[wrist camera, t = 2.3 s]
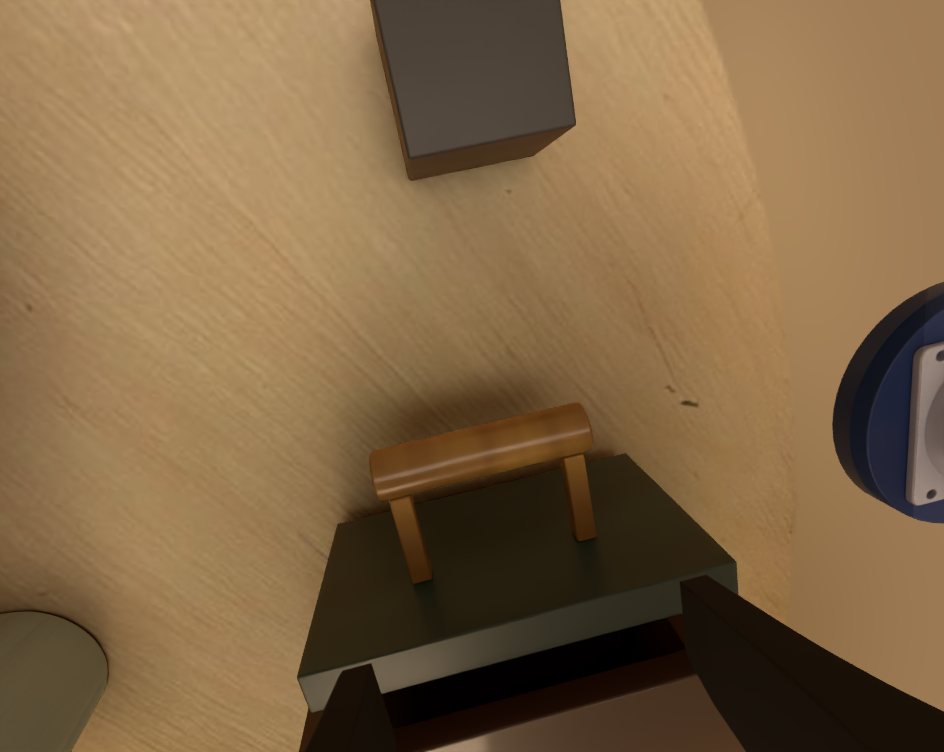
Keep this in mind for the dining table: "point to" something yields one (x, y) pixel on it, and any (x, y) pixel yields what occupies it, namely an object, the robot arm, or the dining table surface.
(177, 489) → the dining table surface
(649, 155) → the dining table surface
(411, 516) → the drawer
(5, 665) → the cup
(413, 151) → the block
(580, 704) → the cabinet
